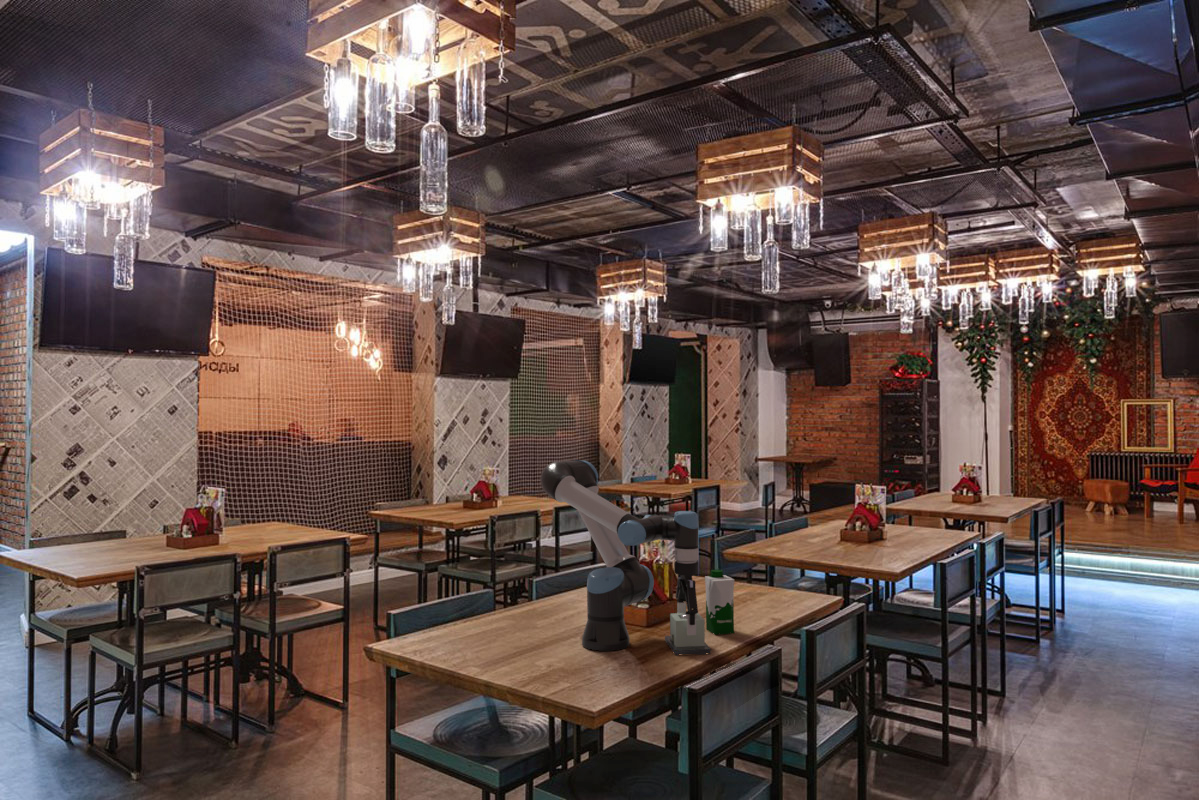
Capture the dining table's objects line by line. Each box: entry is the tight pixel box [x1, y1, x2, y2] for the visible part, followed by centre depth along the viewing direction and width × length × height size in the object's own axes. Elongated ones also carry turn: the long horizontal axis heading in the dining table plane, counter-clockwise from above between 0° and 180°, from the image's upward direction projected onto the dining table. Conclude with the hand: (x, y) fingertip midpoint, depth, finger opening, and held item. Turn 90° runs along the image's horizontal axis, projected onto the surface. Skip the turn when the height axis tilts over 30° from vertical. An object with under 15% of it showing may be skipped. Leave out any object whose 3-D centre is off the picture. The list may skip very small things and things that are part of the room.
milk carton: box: [704, 569, 735, 636], centre depth 263 cm, size 9×9×20 cm
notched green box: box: [669, 612, 706, 647], centre depth 246 cm, size 9×9×8 cm
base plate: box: [664, 614, 712, 656], centre depth 246 cm, size 11×16×10 cm
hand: (686, 628), depth 246 cm, fingers open, 13 cm apart
